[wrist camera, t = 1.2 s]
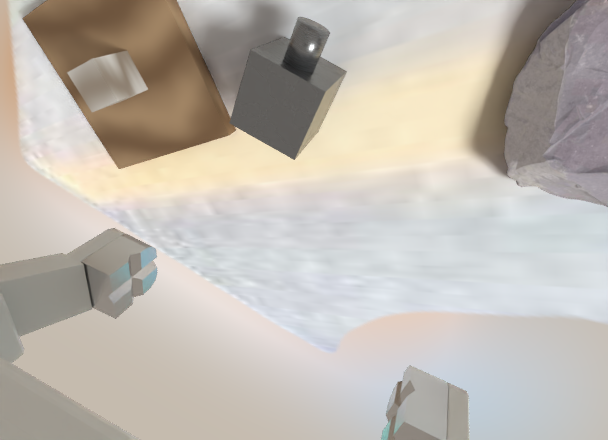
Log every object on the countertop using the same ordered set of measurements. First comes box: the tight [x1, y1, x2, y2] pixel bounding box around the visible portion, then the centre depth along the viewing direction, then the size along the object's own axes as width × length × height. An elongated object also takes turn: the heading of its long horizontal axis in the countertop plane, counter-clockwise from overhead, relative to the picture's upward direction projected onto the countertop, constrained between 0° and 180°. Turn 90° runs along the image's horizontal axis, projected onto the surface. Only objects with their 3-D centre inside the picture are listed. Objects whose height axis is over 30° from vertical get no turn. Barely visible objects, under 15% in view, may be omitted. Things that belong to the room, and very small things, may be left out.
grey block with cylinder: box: [230, 17, 346, 160], centre depth 30 cm, size 6×9×7 cm
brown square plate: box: [23, 0, 236, 169], centre depth 37 cm, size 18×18×6 cm
